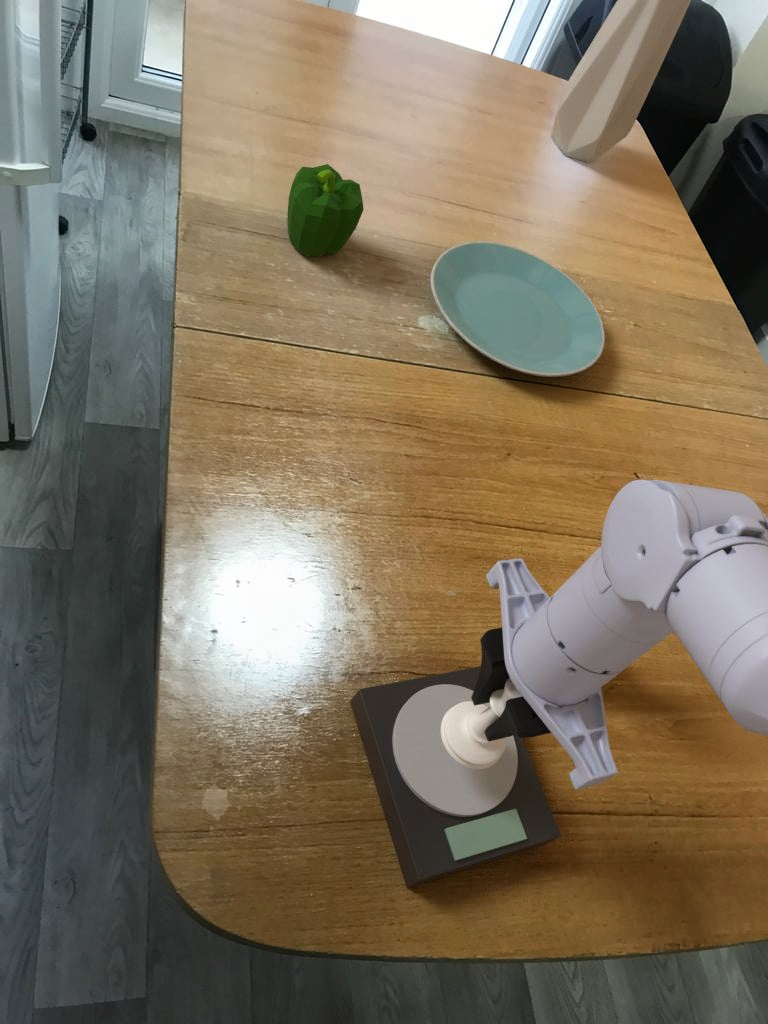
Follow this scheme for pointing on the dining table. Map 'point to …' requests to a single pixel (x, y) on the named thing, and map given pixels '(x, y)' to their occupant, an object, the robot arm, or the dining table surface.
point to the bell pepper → (322, 210)
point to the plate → (517, 309)
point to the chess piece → (476, 729)
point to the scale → (446, 782)
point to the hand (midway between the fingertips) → (491, 716)
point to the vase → (615, 76)
